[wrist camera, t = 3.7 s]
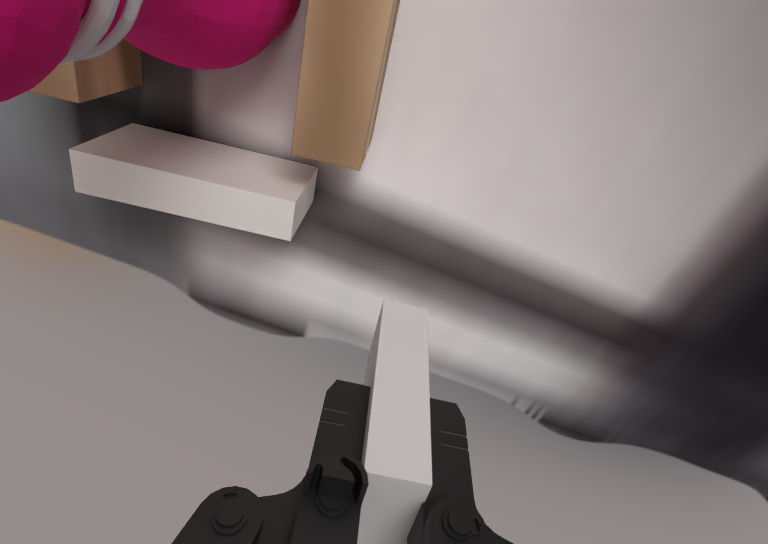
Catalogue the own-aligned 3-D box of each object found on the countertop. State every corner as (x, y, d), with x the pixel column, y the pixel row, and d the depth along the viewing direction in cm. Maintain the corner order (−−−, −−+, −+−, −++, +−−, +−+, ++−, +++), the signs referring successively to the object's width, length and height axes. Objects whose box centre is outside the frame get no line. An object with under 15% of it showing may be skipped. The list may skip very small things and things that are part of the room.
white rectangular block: (318, 167, 24) (295, 202, 20) (312, 201, 25) (290, 241, 21) (132, 123, 24) (68, 148, 20) (135, 159, 25) (75, 191, 21)
